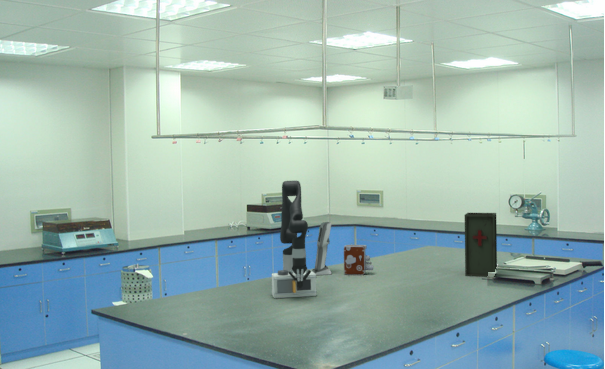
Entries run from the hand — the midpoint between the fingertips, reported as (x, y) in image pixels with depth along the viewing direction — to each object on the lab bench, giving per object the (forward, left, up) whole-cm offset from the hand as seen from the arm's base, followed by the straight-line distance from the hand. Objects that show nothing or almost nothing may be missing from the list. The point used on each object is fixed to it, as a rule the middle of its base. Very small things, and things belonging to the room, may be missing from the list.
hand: (300, 287), depth 309 cm
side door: (-1, -7, -3) cm, 8 cm away
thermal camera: (-70, +26, -6) cm, 75 cm away
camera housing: (-9, -2, -6) cm, 11 cm away
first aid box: (-40, +128, -6) cm, 134 cm away
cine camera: (-61, +50, -6) cm, 79 cm away
